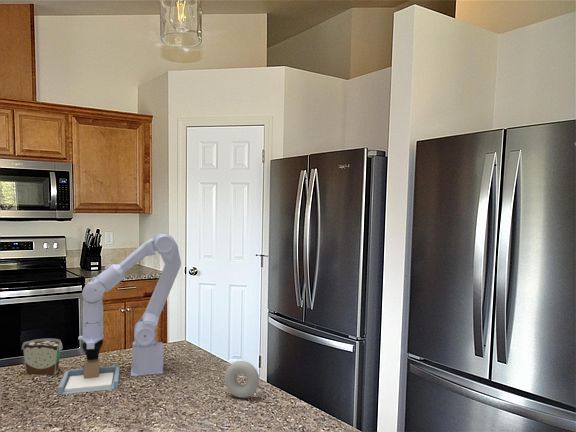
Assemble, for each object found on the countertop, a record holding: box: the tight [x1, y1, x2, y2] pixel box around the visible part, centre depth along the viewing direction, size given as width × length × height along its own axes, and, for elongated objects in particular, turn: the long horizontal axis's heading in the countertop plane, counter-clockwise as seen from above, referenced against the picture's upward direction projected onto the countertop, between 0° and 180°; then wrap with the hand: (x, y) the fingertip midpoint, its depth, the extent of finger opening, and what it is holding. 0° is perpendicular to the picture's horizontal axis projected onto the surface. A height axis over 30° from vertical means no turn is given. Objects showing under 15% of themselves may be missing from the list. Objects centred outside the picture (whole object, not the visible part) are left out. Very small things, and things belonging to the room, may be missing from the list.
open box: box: [57, 364, 121, 396], centre depth 133 cm, size 15×14×2 cm
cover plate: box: [65, 358, 113, 392], centre depth 132 cm, size 12×10×5 cm
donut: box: [224, 360, 260, 399], centre depth 124 cm, size 10×3×10 cm, turn 74°
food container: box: [21, 338, 64, 376], centre depth 142 cm, size 12×6×10 cm, turn 84°
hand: (92, 366), depth 138 cm, fingers closed
